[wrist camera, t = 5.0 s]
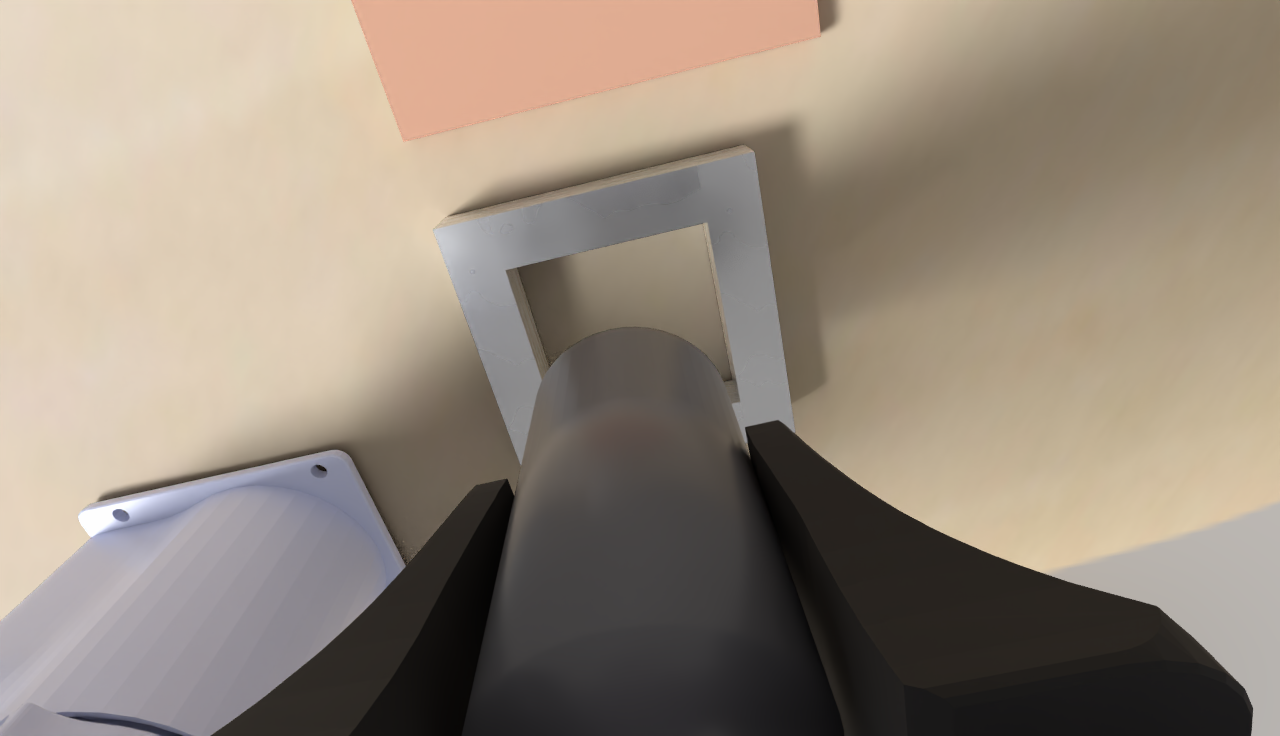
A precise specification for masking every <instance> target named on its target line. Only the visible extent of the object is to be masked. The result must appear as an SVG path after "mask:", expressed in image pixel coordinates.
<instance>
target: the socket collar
mask: <svg viewBox="0 0 1280 736" xmlns="http://www.w3.org/2000/svg"><path fill="white" fill-rule="evenodd" d="M702 223H703V227H704V232H705V237H706V243H707V248H708V253H709V259H710V264H711V269H712V275H713V280H714V285H715V291H716V296H717V301H718V307H719V312H720V317H721V323H722V328H723V333H724V339H725V344H726V349H727V355H728V360H729V365H730V370H731V376H732V380H729V381H724V384H725V387H726V389H727V392H728V395H729V398H730V401H731V404H732V407H733V409H734V412H735V415H736V418H737V421H738V424H739V427H740V429H741V432H742V435H743V438H744V441H745V443H748V442H747V437H746V431H745V427H747V426H752V425H757V424H761V423H766V422H770V421H775V420H779V421H781V422H782V423H784V424H785V425H786V426H787V427H788V428H789V429H790V430H791V431H793V432H794V433H795V426H794V419H793V413H792V406H791V399H790V392H789V385H788V378H787V371H786V364H785V358H784V351H783V344H782V337H781V330H780V323H779V316H778V309H777V303H776V296H775V289H774V282H773V275H772V268H771V261H770V254H769V248H768V241H767V234H766V227H765V220H764V213H763V206H762V200H761V193H760V186H759V179H758V172H757V165H756V158H755V151H753V150H751V149H750V148H748V147H747V146H745V145H744V144H743V145H739V146H735V147H731V148H727V149H723V150H719V151H715V152H711V153H707V154H702V155H698V156H694V157H690V158H686V159H682V160H678V161H674V162H670V163H665V164H661V165H657V166H653V167H649V168H645V169H641V170H637V171H633V172H629V173H624V174H620V175H616V176H612V177H608V178H604V179H600V180H596V181H592V182H588V183H583V184H579V185H575V186H571V187H567V188H563V189H559V190H555V191H551V192H546V193H542V194H538V195H534V196H530V197H526V198H522V199H518V200H514V201H510V202H505V203H501V204H497V205H493V206H489V207H485V208H481V209H477V210H473V211H468V212H464V213H460V214H456V215H452V216H448V217H445V218H444V219H443V220H442V221H441V222H440V223H439V224H438V225H437V226H436V227H435V228H434V229H433V232H434V234H435V237H436V240H437V242H438V245H439V248H440V250H441V253H442V256H443V259H444V261H445V264H446V267H447V269H448V272H449V275H450V277H451V280H452V283H453V285H454V288H455V291H456V293H457V296H458V299H459V302H460V304H461V307H462V310H463V312H464V315H465V318H466V320H467V323H468V326H469V328H470V331H471V334H472V336H473V339H474V342H475V344H476V347H477V350H478V353H479V355H480V358H481V361H482V363H483V366H484V369H485V371H486V374H487V377H488V379H489V382H490V385H491V387H492V390H493V393H494V395H495V398H496V401H497V404H498V406H499V409H500V412H501V414H502V417H503V420H504V422H505V425H506V428H507V430H508V433H509V436H510V438H511V441H512V444H513V446H514V449H515V452H516V455H517V457H518V460H519V463H520V465H521V464H522V459H523V455H524V450H525V446H526V441H527V437H528V432H529V428H530V423H531V419H532V414H533V409H534V405H535V400H536V396H537V392H538V389H539V387H540V384H541V382H542V380H543V378H544V376H545V374H546V372H547V371H548V370H549V365H548V362H547V359H546V356H545V353H544V350H543V347H542V344H541V340H540V337H539V334H538V331H537V328H536V325H535V322H534V319H533V316H532V313H531V310H530V306H529V303H528V300H527V297H526V294H525V291H524V288H523V285H522V282H521V279H520V276H519V272H518V269H517V267H521V266H525V265H529V264H534V263H538V262H542V261H546V260H550V259H555V258H559V257H563V256H567V255H572V254H576V253H580V252H584V251H588V250H593V249H597V248H601V247H605V246H610V245H614V244H618V243H622V242H626V241H631V240H635V239H639V238H643V237H648V236H652V235H656V234H660V233H664V232H669V231H673V230H677V229H681V228H686V227H690V226H694V225H698V224H702Z"/></svg>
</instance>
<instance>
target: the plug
mask: <svg viewBox="0 0 1280 736" xmlns="http://www.w3.org/2000/svg"><path fill="white" fill-rule="evenodd" d="M462 736H844V728H843V724H842V720H841V716H840V712H839V710H838V707H837V704H836V701H835V698H834V695H833V692H832V690H831V687H830V684H829V681H828V678H827V675H826V672H825V670H824V667H823V664H822V661H821V658H820V655H819V652H818V650H817V647H816V644H815V641H814V638H813V635H812V632H811V630H810V627H809V624H808V621H807V618H806V615H805V612H804V610H803V607H802V604H801V601H800V598H799V595H798V592H797V590H796V587H795V584H794V581H793V578H792V575H791V572H790V569H789V567H788V564H787V561H786V558H785V555H784V552H783V549H782V547H781V544H780V541H779V538H778V535H777V532H776V529H775V527H774V524H773V521H772V518H771V515H770V512H769V509H768V507H767V504H766V501H765V498H764V495H763V493H762V490H761V487H760V484H759V481H758V478H757V476H756V473H755V470H754V467H753V464H752V461H751V458H750V455H749V452H748V449H747V447H746V444H745V441H744V438H743V435H742V432H741V429H740V427H739V424H738V421H737V418H736V415H735V412H734V409H733V407H732V404H731V401H730V398H729V395H728V392H727V389H726V387H725V384H724V382H723V380H722V377H721V375H720V373H719V372H718V370H717V369H716V367H715V366H714V364H713V363H712V362H711V361H710V360H709V358H708V357H707V356H706V355H705V354H704V353H702V352H701V351H700V350H699V349H698V348H697V347H695V346H694V345H692V344H691V343H689V342H688V341H686V340H684V339H682V338H680V337H678V336H676V335H673V334H670V333H667V332H665V331H661V330H656V329H651V328H642V327H624V328H616V329H610V330H606V331H603V332H599V333H596V334H594V335H591V336H589V337H587V338H585V339H583V340H581V341H579V342H578V343H576V344H574V345H573V346H571V347H570V348H569V349H567V350H566V351H565V352H564V353H562V354H561V355H560V356H559V357H558V358H557V360H556V361H555V362H554V363H553V364H552V365H551V367H550V368H549V370H548V371H547V372H546V374H545V376H544V378H543V380H542V382H541V384H540V387H539V389H538V392H537V396H536V400H535V405H534V409H533V414H532V419H531V423H530V428H529V432H528V437H527V441H526V446H525V450H524V455H523V459H522V464H521V468H520V473H519V477H518V482H517V487H516V491H515V496H514V500H513V505H512V509H511V514H510V518H509V523H508V527H507V532H506V536H505V541H504V545H503V550H502V555H501V559H500V564H499V568H498V573H497V577H496V582H495V586H494V591H493V595H492V600H491V604H490V609H489V614H488V618H487V623H486V627H485V632H484V636H483V641H482V645H481V650H480V654H479V659H478V663H477V668H476V672H475V677H474V682H473V686H472V691H471V695H470V700H469V704H468V709H467V713H466V718H465V722H464V727H463V731H462Z"/></svg>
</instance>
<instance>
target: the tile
mask: <svg viewBox="0 0 1280 736" xmlns="http://www.w3.org/2000/svg"><path fill="white" fill-rule="evenodd" d="M351 1H352V3H353V6H354V9H355V12H356V14H357V17H358V20H359V22H360V25H361V28H362V31H363V33H364V36H365V39H366V41H367V44H368V47H369V49H370V52H371V55H372V58H373V60H374V63H375V66H376V68H377V71H378V74H379V76H380V79H381V82H382V85H383V87H384V90H385V93H386V95H387V98H388V101H389V103H390V106H391V109H392V112H393V114H394V117H395V120H396V122H397V125H398V128H399V130H400V133H401V136H402V139H403V141H404V142H405V141H409V140H413V139H417V138H421V137H425V136H429V135H433V134H437V133H441V132H444V131H448V130H452V129H456V128H460V127H464V126H468V125H472V124H476V123H480V122H484V121H488V120H492V119H496V118H500V117H504V116H508V115H512V114H516V113H520V112H524V111H528V110H532V109H536V108H540V107H544V106H548V105H552V104H555V103H559V102H563V101H567V100H571V99H575V98H579V97H583V96H587V95H591V94H595V93H599V92H603V91H607V90H611V89H615V88H619V87H623V86H627V85H631V84H635V83H639V82H643V81H647V80H651V79H655V78H659V77H663V76H666V75H670V74H674V73H678V72H682V71H686V70H690V69H694V68H698V67H702V66H706V65H710V64H714V63H718V62H722V61H726V60H730V59H734V58H738V57H742V56H746V55H750V54H754V53H758V52H762V51H766V50H770V49H774V48H778V47H781V46H785V45H789V44H793V43H797V42H801V41H805V40H809V39H813V38H817V37H821V34H820V23H819V13H818V2H817V0H351Z"/></svg>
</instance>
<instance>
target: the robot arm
mask: <svg viewBox="0 0 1280 736" xmlns="http://www.w3.org/2000/svg"><path fill="white" fill-rule="evenodd" d="M745 431H746V437H747V442H748V447H749V453H750V458H751V461H752V464H753V467H754V470H755V473H756V476H757V478H758V481H759V484H760V487H761V490H762V493H763V495H764V498H765V501H766V504H767V507H768V509H769V512H770V515H771V518H772V521H773V524H774V527H775V529H776V532H777V535H778V538H779V541H780V544H781V547H782V549H783V552H784V555H785V558H786V561H787V564H788V567H789V569H790V572H791V575H792V578H793V581H794V584H795V587H796V590H797V592H798V595H799V598H800V601H801V604H802V607H803V610H804V612H805V615H806V618H807V621H808V624H809V627H810V630H811V632H812V635H813V638H814V641H815V644H816V647H817V650H818V652H819V655H820V658H821V661H822V664H823V667H824V670H825V672H826V675H827V678H828V681H829V684H830V687H831V690H832V692H833V695H834V698H835V701H836V704H837V707H838V710H839V712H840V716H841V720H842V724H843V728H844V736H1251V731H1252V717H1253V707H1252V705H1251V702H1250V700H1249V698H1248V695H1247V693H1246V691H1245V689H1244V688H1243V687H1242V686H1241V685H1240V684H1239V683H1238V682H1237V681H1236V680H1235V679H1234V678H1233V677H1232V676H1231V675H1230V674H1229V673H1228V672H1227V671H1226V670H1225V669H1224V668H1223V667H1222V666H1221V665H1220V664H1219V663H1218V662H1217V661H1216V660H1215V659H1214V657H1213V656H1212V655H1211V654H1210V653H1209V652H1207V650H1205V649H1204V647H1202V646H1201V645H1200V644H1199V643H1198V642H1197V641H1196V640H1195V639H1194V638H1193V637H1192V636H1191V635H1190V634H1189V633H1187V632H1186V631H1185V630H1184V629H1183V628H1182V627H1180V626H1179V625H1178V624H1177V623H1175V622H1174V621H1173V620H1172V619H1171V618H1170V617H1169V616H1168V615H1166V614H1165V613H1164V612H1163V611H1162V610H1161V609H1160V608H1158V607H1157V606H1154V605H1150V604H1146V603H1143V602H1139V601H1136V600H1132V599H1128V598H1124V597H1121V596H1117V595H1114V594H1110V593H1106V592H1103V591H1099V590H1095V589H1092V588H1088V587H1085V586H1081V585H1077V584H1074V583H1070V582H1067V581H1064V580H1061V579H1058V578H1055V577H1052V576H1049V575H1046V574H1043V573H1040V572H1037V571H1035V570H1032V569H1029V568H1026V567H1023V566H1020V565H1017V564H1015V563H1012V562H1009V561H1007V560H1004V559H1001V558H999V557H996V556H994V555H991V554H989V553H986V552H984V551H982V550H979V549H977V548H975V547H972V546H970V545H968V544H965V543H963V542H961V541H958V540H956V539H954V538H952V537H949V536H947V535H945V534H943V533H941V532H939V531H937V530H935V529H933V528H931V527H929V526H927V525H925V524H923V523H921V522H919V521H918V520H916V519H914V518H912V517H910V516H908V515H906V514H904V513H903V512H901V511H899V510H897V509H896V508H894V507H892V506H891V505H889V504H888V503H886V502H884V501H883V500H881V499H880V498H878V497H877V496H875V495H874V494H872V493H871V492H869V491H868V490H866V489H864V488H863V487H862V486H860V485H859V484H857V483H856V482H854V481H853V480H852V479H850V478H849V477H848V476H846V475H845V474H844V473H842V472H841V471H840V470H838V469H837V468H836V467H834V466H833V465H832V464H830V463H829V462H828V461H826V460H825V459H824V458H823V457H821V456H820V455H819V454H818V453H817V452H815V451H814V450H813V449H812V448H811V447H809V446H808V445H807V444H806V443H805V442H804V441H802V440H801V439H800V438H799V437H798V436H797V435H796V434H795V433H794V432H793V431H791V430H790V429H789V428H788V427H787V426H786V425H785V424H784V423H782V422H781V421H779V420H775V421H770V422H766V423H761V424H757V425H752V426H747V427H745ZM316 465H321V466H323V467H325V469H326V470H327V471H321V470H319V469H318V468H317V467H316ZM513 500H514V495H513V492H512V489H511V487H510V484H509V482H508V479H503V480H499V481H494V482H490V483H485V484H480V485H476V486H475V487H474V488H473V489H472V490H471V491H470V492H469V493H468V494H467V496H466V497H465V498H464V499H463V500H462V501H461V502H460V504H459V505H458V506H457V507H456V508H455V510H454V511H453V512H452V513H451V514H450V516H449V517H448V518H447V519H446V520H445V522H444V523H443V524H442V525H441V526H440V528H439V529H438V530H437V531H436V532H435V533H434V535H433V536H432V537H431V538H430V539H429V541H428V542H427V543H426V544H425V545H424V546H423V548H422V549H421V550H420V551H419V552H418V553H417V555H416V556H415V557H414V558H413V559H412V560H411V561H410V563H409V564H408V565H407V566H406V565H405V563H404V561H403V559H402V557H401V555H400V553H399V551H398V550H397V548H396V546H395V544H394V542H393V540H392V538H391V536H390V534H389V532H388V530H387V528H386V526H385V524H384V522H383V520H382V518H381V516H380V514H379V512H378V510H377V508H376V506H375V504H374V502H373V500H372V498H371V496H370V494H369V492H368V490H367V488H366V486H365V484H364V482H363V480H362V479H361V477H360V475H359V473H358V471H357V469H356V467H355V465H354V463H353V461H352V459H351V458H350V456H349V455H348V454H346V453H345V452H343V451H340V450H329V451H324V452H320V453H315V454H311V455H306V456H302V457H297V458H293V459H288V460H284V461H280V462H275V463H271V464H266V465H262V466H257V467H253V468H248V469H244V470H239V471H235V472H230V473H226V474H221V475H217V476H212V477H208V478H203V479H199V480H194V481H190V482H185V483H181V484H176V485H172V486H167V487H163V488H158V489H154V490H149V491H145V492H140V493H136V494H131V495H127V496H122V497H118V498H113V499H109V500H105V501H100V502H96V503H92V504H89V505H87V506H86V507H85V508H84V509H83V510H82V511H81V512H80V513H79V514H78V519H79V521H80V523H81V525H82V526H83V527H84V529H85V530H86V531H87V533H88V534H89V535H90V537H91V538H90V539H89V540H88V541H87V542H86V543H85V544H84V545H83V546H81V547H80V548H79V549H78V550H77V551H76V552H75V553H74V554H73V555H72V556H71V557H70V558H68V559H67V560H66V561H65V562H64V563H63V564H62V565H61V566H60V567H59V568H58V569H56V570H55V571H54V572H53V573H52V574H51V575H50V576H49V577H48V578H47V579H46V580H45V581H43V582H42V583H41V584H40V585H39V586H38V587H37V588H36V589H35V590H34V591H33V592H32V593H30V594H29V595H28V596H27V597H26V598H25V599H24V600H23V601H22V602H21V603H20V604H18V605H17V606H16V607H15V608H14V609H13V610H12V611H11V612H10V613H9V614H8V615H7V616H5V617H4V618H3V619H2V620H1V621H0V736H462V731H463V727H464V722H465V718H466V713H467V709H468V704H469V700H470V695H471V691H472V686H473V682H474V677H475V672H476V668H477V663H478V659H479V654H480V650H481V645H482V641H483V636H484V632H485V627H486V623H487V618H488V614H489V609H490V604H491V600H492V595H493V591H494V586H495V582H496V577H497V573H498V568H499V564H500V559H501V555H502V550H503V545H504V541H505V536H506V532H507V527H508V523H509V518H510V514H511V509H512V505H513ZM123 510H125V511H126V512H127V513H125V512H124V511H123Z"/></svg>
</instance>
